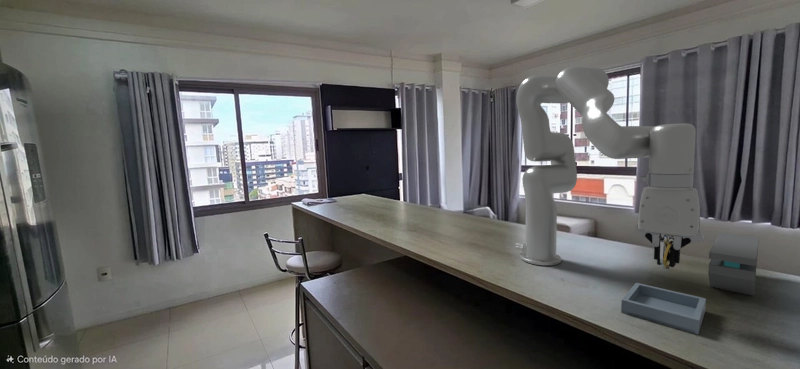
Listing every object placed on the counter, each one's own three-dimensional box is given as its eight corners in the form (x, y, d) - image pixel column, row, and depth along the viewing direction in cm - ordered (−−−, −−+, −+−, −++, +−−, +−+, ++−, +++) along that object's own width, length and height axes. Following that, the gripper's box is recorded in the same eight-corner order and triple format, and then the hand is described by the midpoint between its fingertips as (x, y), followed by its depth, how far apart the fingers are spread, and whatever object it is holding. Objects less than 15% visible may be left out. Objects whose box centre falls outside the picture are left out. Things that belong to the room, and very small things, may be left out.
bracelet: (670, 274, 69) (671, 237, 68) (652, 271, 72) (653, 235, 71) (680, 267, 73) (681, 232, 73) (662, 263, 76) (663, 229, 75)
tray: (621, 312, 74) (621, 299, 74) (635, 294, 83) (635, 282, 83) (698, 334, 65) (699, 320, 64) (705, 311, 73) (706, 298, 73)
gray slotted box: (752, 305, 76) (756, 259, 74) (706, 294, 81) (709, 252, 80) (755, 275, 92) (759, 237, 91) (717, 268, 98) (719, 232, 97)
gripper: (622, 181, 74) (620, 261, 76) (719, 185, 62) (713, 278, 64) (631, 179, 79) (628, 253, 81) (721, 181, 67) (716, 268, 69)
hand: (666, 264), depth 72 cm, fingers closed on bracelet, 1 cm apart
